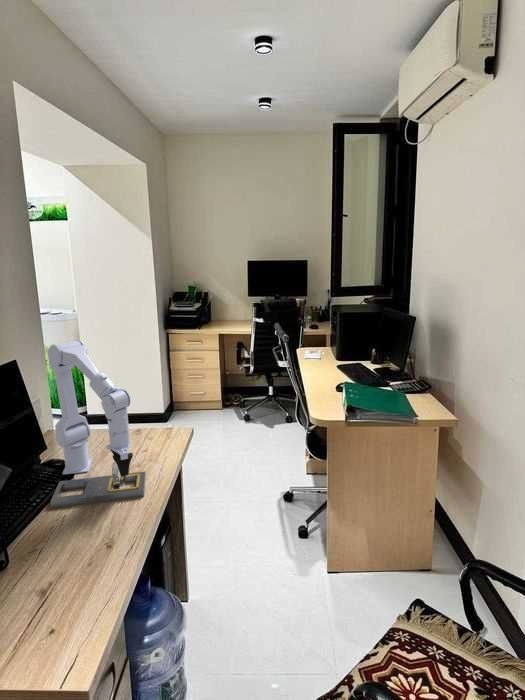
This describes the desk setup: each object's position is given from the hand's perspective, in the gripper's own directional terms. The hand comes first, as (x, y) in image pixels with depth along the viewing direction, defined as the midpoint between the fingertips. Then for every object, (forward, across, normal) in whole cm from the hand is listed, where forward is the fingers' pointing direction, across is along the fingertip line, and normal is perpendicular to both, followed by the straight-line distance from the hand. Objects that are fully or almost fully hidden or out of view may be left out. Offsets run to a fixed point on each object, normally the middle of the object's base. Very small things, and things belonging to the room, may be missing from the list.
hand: (123, 471), depth 141 cm
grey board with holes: (+6, -2, -7) cm, 9 cm away
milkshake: (+6, 0, -2) cm, 6 cm away
